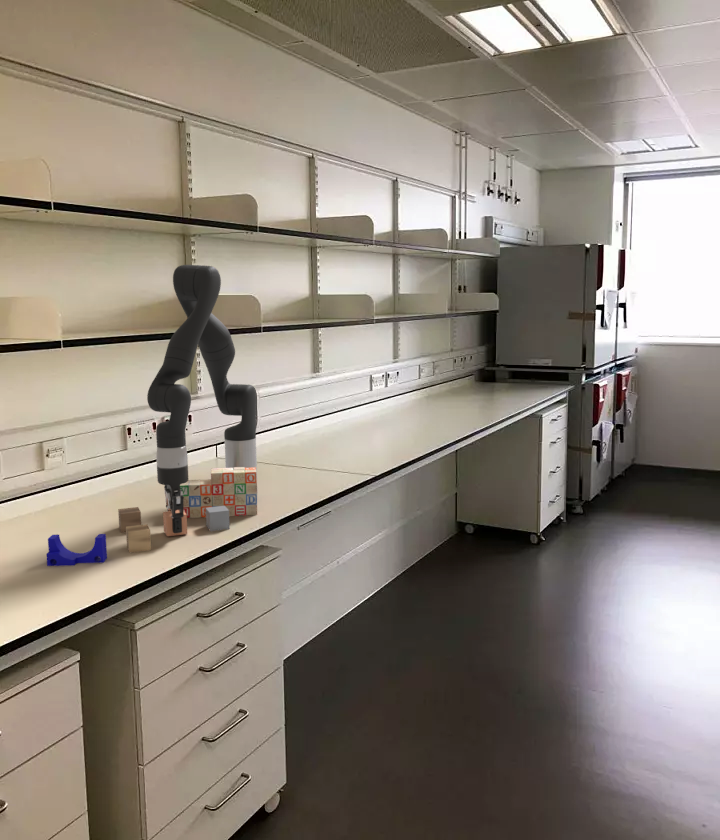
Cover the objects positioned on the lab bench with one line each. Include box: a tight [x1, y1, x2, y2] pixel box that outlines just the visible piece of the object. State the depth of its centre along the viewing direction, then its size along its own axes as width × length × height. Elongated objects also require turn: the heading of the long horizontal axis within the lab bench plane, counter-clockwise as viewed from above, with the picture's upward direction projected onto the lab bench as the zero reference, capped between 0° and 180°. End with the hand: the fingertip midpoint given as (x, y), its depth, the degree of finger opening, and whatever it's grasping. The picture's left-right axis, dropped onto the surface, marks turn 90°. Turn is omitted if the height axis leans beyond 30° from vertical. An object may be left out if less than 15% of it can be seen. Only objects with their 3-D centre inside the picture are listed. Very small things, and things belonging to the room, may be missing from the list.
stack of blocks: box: [180, 467, 258, 519], centre depth 217 cm, size 21×6×12 cm, turn 98°
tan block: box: [117, 506, 142, 534], centre depth 204 cm, size 5×5×5 cm
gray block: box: [205, 506, 231, 532], centre depth 205 cm, size 5×5×5 cm
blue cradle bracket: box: [46, 533, 108, 567], centre depth 179 cm, size 12×4×6 cm, turn 92°
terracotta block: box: [162, 510, 188, 537], centre depth 200 cm, size 5×5×5 cm
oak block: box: [125, 523, 152, 554], centre depth 189 cm, size 5×5×5 cm
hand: (175, 529), depth 200 cm, fingers closed on terracotta block, 5 cm apart
